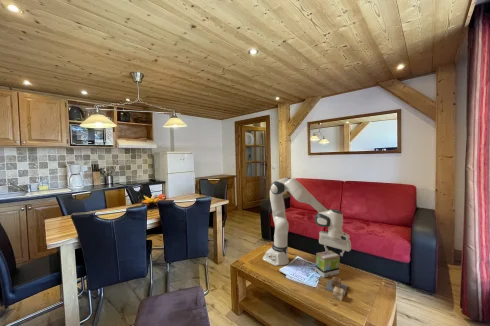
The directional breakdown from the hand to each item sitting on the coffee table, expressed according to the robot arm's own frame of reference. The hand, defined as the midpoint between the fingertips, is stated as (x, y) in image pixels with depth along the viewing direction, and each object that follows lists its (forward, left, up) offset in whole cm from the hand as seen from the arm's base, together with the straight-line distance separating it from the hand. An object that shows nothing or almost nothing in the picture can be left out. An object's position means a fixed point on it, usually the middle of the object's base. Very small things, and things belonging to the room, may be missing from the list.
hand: (333, 253), depth 145 cm
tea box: (-8, +16, -24) cm, 30 cm away
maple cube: (+5, -9, -24) cm, 26 cm away
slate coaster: (+2, 0, -24) cm, 24 cm away
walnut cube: (+2, 0, -23) cm, 23 cm away
